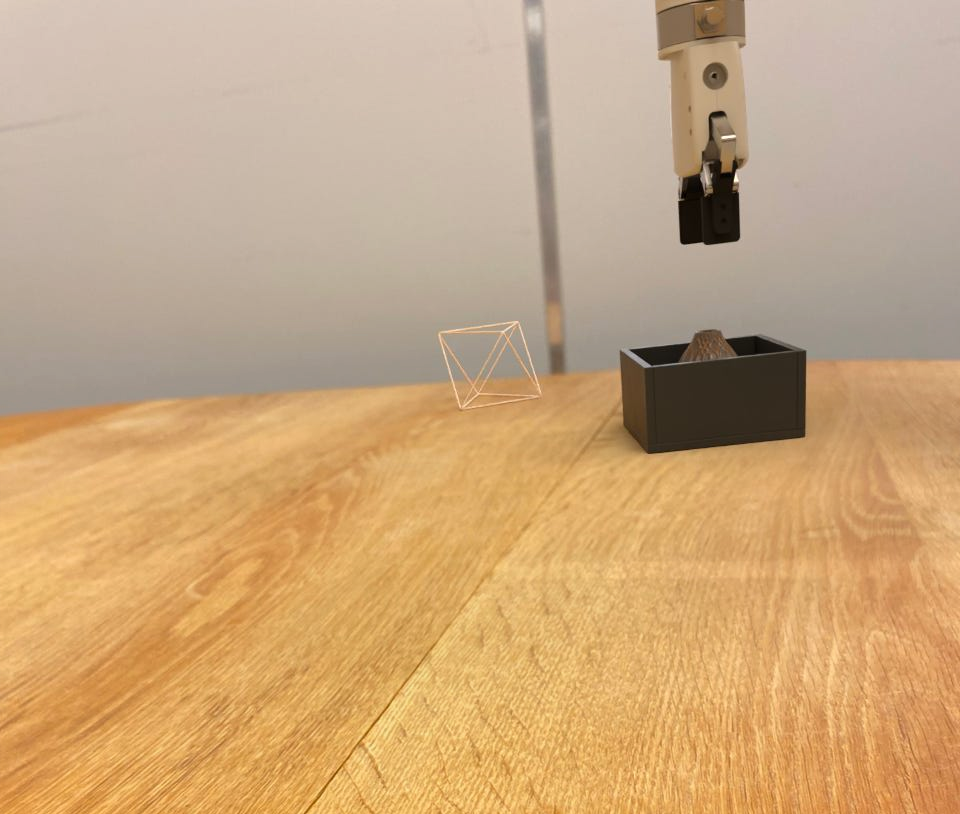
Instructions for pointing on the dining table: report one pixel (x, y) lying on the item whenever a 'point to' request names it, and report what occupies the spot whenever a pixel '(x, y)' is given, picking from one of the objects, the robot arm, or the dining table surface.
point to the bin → (714, 395)
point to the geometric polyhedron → (492, 366)
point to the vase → (707, 347)
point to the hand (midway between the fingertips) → (708, 243)
